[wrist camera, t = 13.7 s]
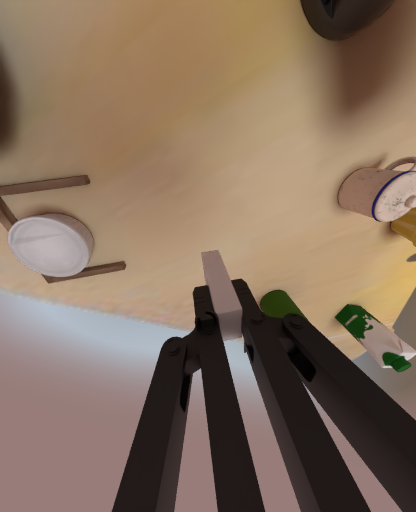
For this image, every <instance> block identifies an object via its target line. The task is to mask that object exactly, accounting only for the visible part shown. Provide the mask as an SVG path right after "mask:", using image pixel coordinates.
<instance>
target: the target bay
mask: <svg viewBox="0 0 416 512" xmlns="http://www.w3.org/2000/svg"><path fill="white" fill-rule="evenodd" d="M89 183H90V181H89V178H88V176H87V175H85V176H77V177H69V178H61V179H53V180H45V181H38V182H30V183H22V184H14V185H6V186H0V196H3V195H11V194H19V193H26V192H34V191H41V190H49V189H57V188H64V187H72V186H80V185H87V184H89ZM0 222H1V223H2V224H3V226H4V227H5V228H6V230H7V231H8V232H9V230H10V228H11V227H12V226H13V225H14V224H15V223H16V222H17V219H16V218H15V217H14V215H13V214H12V212H11V211H10V210H9V208H8V207H7V205H6V204H5V203H4V201H3V200H2V199H1V197H0ZM125 267H126V264H125V262H124V261H123V262H117V263H111V264H106V265H100V266H94V267H89V268H84V269H83V270H82V271H81V272H79V273H77V274H75V275H72V276H67V277H53V276H48V275H44V274H42V276H43V277H44V278H45V280H46V281H47V282H48V283H54V282H59V281H65V280H70V279H76V278H81V277H87V276H92V275H98V274H103V273H109V272H114V271H120V270H125Z"/></svg>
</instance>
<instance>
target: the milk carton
mask: <svg viewBox="0 0 416 512" xmlns="http://www.w3.org/2000/svg"><path fill="white" fill-rule="evenodd" d="M335 318H336V319H337V320H338V321H339V322H340V323H341V324H342V325H343V326H344V327H345V328H346V329H347V330H348V331H349V332H350V333H351V334H352V335H353V336H354V337H355V339H356V340H357V341H358V342H359V343H360V344H361V345H362V346H363V347H364V348H365V349H366V350H367V351H368V352H369V353H370V354H371V355H372V356H373V357H374V359H375V360H376V361H377V362H378V363H379V365H380V366H381V367H382V368H394V369H395V370H396V371H397V372H402V371H404V370H406V369H408V368H409V367H411V364H410V363H409V362H408V360H409V359H410V358H412V357H413V356H415V355H416V350H414V349H413V348H412V347H410V346H409V345H408V344H406V343H405V342H404V341H403V340H401V339H400V338H399V337H397V336H396V335H395V334H394V333H393V332H392V331H390V330H389V329H388V328H387V327H386V326H384V325H383V324H382V323H381V322H380V321H378V320H377V319H376V318H375V317H373V316H372V315H371V314H370V313H368V312H367V311H366V310H365V309H363V308H362V307H361V306H356V305H349V304H347V305H346V306H345V308H344V309H343V310H342V311H341V312H340V313H339V314H338V315H337V316H336V317H335Z"/></svg>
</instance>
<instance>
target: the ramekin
mask: <svg viewBox="0 0 416 512" xmlns="http://www.w3.org/2000/svg"><path fill="white" fill-rule="evenodd" d="M8 244H9V247H10V249H11V251H12V253H13V255H14V256H15V257H16V258H17V259H18V260H19V261H20V262H21V263H22V264H24V265H25V266H27V267H28V268H30V269H32V270H34V271H36V272H38V273H41V274H44V275H48V276H53V277H67V276H72V275H75V274H77V273H79V272H81V271H82V270H83V269H84V268H85V267H86V265H87V264H88V262H89V260H90V255H91V252H92V249H93V245H94V244H93V238H92V235H91V233H90V232H89V230H88V229H87V228H86V227H85V226H84V225H83V224H82V223H81V222H79V221H78V220H76V219H74V218H72V217H69V216H67V215H63V214H55V213H53V214H45V215H36V216H29V217H26V218H23V219H21V220H19V221H17V222H16V223H15V224H14V225H13V226H12V227H11V228H10V230H9V233H8Z"/></svg>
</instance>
